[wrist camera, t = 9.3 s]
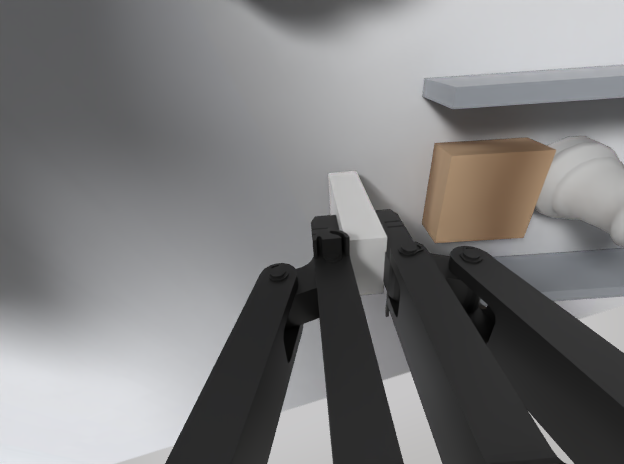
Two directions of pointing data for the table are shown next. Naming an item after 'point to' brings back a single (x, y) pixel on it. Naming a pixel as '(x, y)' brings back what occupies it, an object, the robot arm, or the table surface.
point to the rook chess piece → (585, 185)
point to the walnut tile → (484, 188)
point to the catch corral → (530, 90)
